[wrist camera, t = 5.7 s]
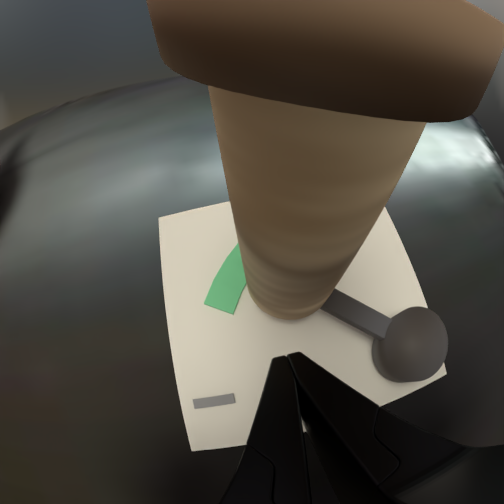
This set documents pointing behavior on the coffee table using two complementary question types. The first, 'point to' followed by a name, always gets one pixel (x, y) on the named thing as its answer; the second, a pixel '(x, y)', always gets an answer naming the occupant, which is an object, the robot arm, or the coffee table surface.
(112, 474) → the coffee table surface
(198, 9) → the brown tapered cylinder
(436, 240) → the coffee table surface
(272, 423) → the robot arm
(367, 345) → the dial board
